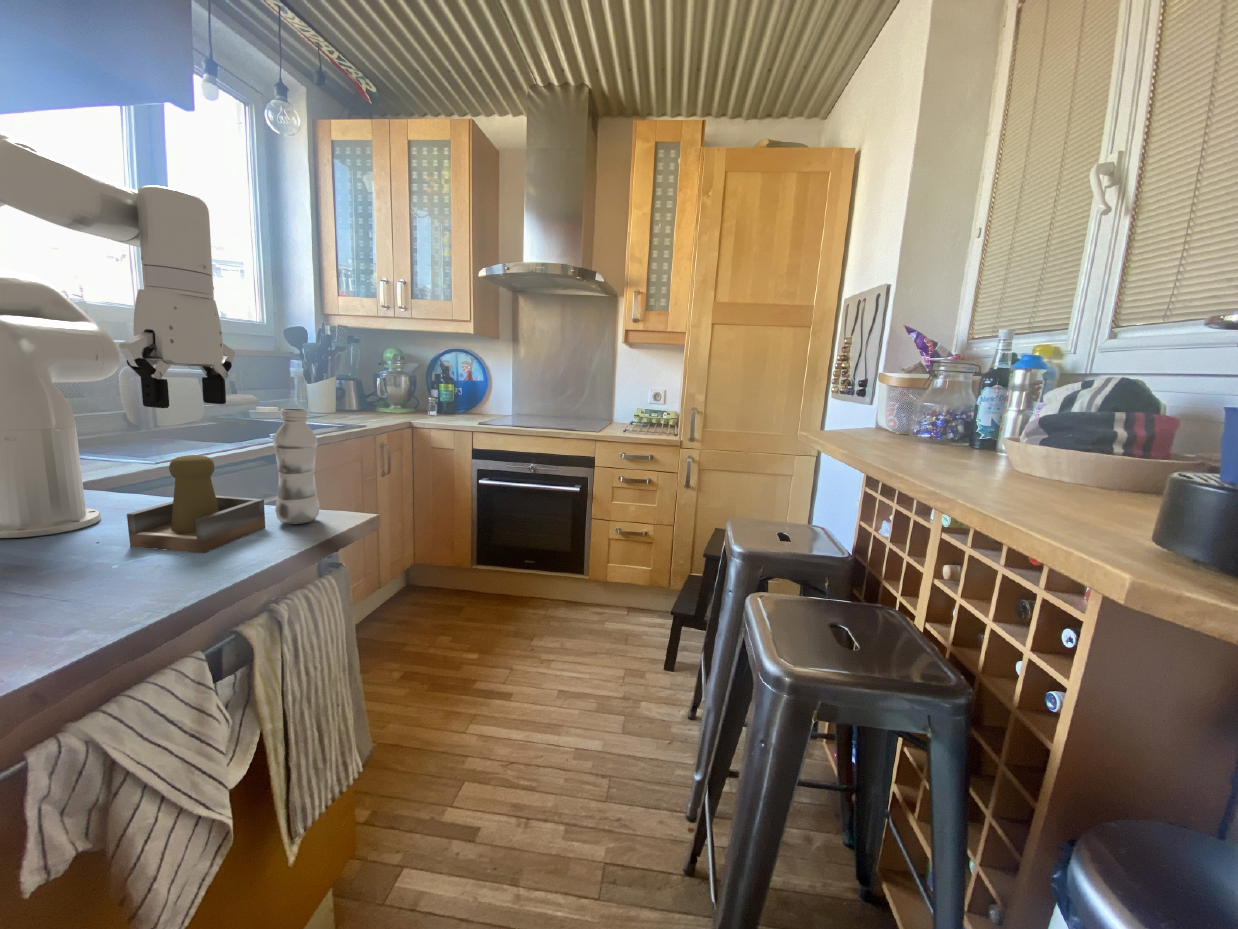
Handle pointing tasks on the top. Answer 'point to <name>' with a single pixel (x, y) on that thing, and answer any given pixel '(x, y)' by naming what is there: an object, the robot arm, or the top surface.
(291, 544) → the top surface
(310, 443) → the plastic bottle
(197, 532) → the tray
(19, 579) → the top surface
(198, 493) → the cork
